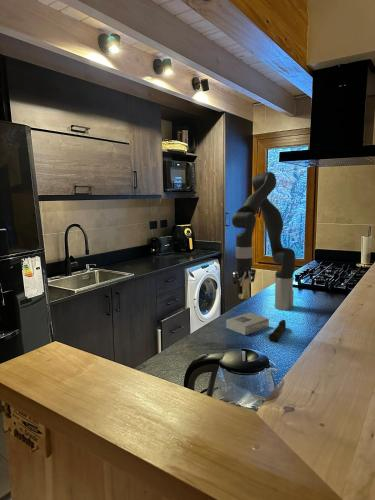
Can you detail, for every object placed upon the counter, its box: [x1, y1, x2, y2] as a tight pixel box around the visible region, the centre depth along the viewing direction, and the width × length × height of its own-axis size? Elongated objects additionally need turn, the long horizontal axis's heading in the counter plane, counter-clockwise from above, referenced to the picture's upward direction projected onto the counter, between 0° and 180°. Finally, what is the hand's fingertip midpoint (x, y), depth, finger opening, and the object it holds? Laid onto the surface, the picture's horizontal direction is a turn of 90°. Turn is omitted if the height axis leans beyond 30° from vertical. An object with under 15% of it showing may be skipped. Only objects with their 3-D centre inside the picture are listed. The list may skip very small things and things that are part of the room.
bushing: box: [238, 278, 250, 300], centre depth 161 cm, size 5×5×9 cm
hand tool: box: [268, 319, 286, 343], centre depth 154 cm, size 19×4×5 cm, turn 148°
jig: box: [225, 312, 270, 336], centre depth 164 cm, size 16×12×4 cm
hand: (244, 292), depth 161 cm, fingers closed on bushing, 4 cm apart
